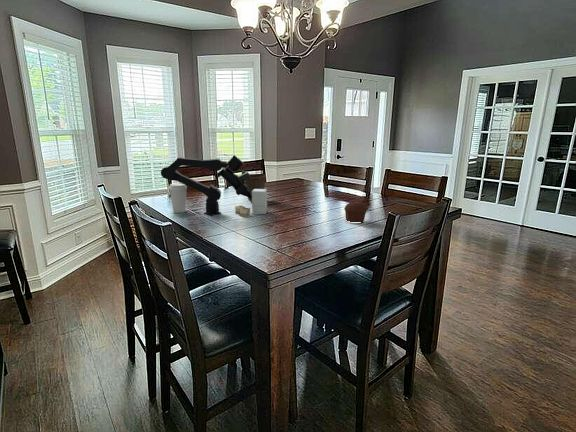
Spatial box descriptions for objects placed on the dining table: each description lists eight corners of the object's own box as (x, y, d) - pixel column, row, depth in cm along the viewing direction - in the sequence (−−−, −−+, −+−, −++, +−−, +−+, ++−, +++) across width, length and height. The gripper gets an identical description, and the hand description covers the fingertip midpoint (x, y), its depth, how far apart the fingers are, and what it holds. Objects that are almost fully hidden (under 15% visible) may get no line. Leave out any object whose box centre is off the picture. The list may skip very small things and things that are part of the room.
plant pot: (238, 201, 212) (238, 176, 208) (248, 197, 226) (247, 173, 222) (260, 203, 208) (260, 177, 204) (269, 198, 222) (269, 174, 218)
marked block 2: (246, 217, 177) (246, 209, 176) (240, 216, 179) (239, 208, 178) (250, 215, 181) (250, 207, 180) (243, 214, 183) (243, 207, 181)
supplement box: (267, 211, 190) (267, 188, 187) (265, 214, 183) (265, 191, 180) (254, 210, 191) (254, 188, 188) (251, 214, 184) (251, 191, 181)
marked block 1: (239, 215, 182) (238, 207, 180) (235, 213, 185) (235, 206, 184) (245, 214, 184) (245, 206, 183) (241, 212, 187) (241, 205, 186)
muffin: (348, 225, 166) (350, 205, 163) (339, 219, 176) (340, 200, 173) (370, 223, 169) (372, 204, 166) (360, 218, 179) (361, 199, 177)
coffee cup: (166, 212, 185) (164, 184, 181) (179, 208, 193) (177, 182, 189) (179, 214, 181) (177, 186, 177) (192, 210, 189) (190, 183, 185)
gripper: (241, 168, 170) (264, 190, 175) (240, 164, 188) (260, 184, 193) (226, 184, 171) (248, 205, 176) (226, 179, 189) (247, 198, 193)
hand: (252, 197), depth 184 cm, fingers closed
